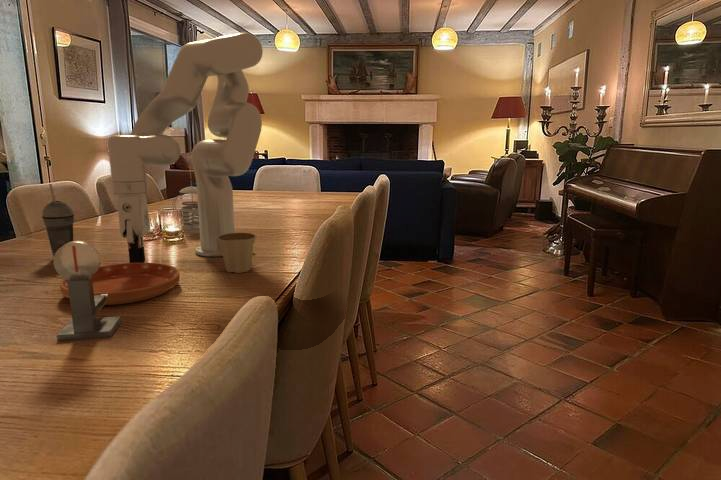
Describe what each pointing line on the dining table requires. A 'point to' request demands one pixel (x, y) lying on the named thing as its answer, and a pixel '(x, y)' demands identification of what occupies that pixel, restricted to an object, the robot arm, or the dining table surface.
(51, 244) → the beverage cup
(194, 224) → the french press
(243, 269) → the flower pot
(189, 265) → the dining table surface
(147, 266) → the saucer
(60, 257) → the indicator stand
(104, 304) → the plunger
